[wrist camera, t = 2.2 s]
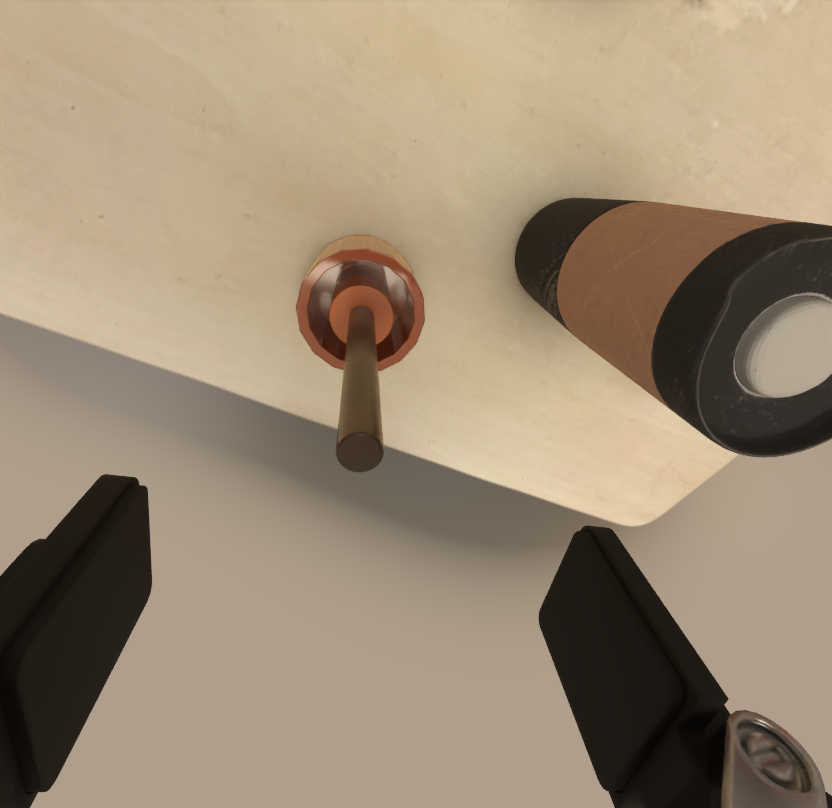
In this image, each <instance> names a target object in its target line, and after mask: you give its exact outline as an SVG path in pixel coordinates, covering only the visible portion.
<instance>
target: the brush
mask: <svg viewBox="0 0 832 808" xmlns="http://www.w3.org/2000/svg"><path fill="white" fill-rule="evenodd" d="M393 320H394V314H393V308H392V303H391V299H390V294H389V289H388V285H387V282H386V280H385V278H384V277H383V276H382V274H381V273H380V272H379V271H377V270H376V269H374V268H372V267H369V266H365V265H357V266H353V267H350V268H348V269H347V270H345V271H344V272H343V273H342V274H341V275H340V276H339V278H338V280H337V282H336V285H335V289H334V294H333V298H332V302H331V306H330V311H329V321H330V325H331V328H332V330H333V332H334V333H335V335H336V336H337V337H338V338H339V339H340V340H341V341H343V342H344V343H346V353H345V363H344V373H343V383H342V394H341V404H340V414H339V424H338V435H337V445H336V456H337V459H338V461H339V462H340V464H341V465H342V466H343V467H345V468H346V469H348V470H350V471H353V472H366V471H369V470H371V469H373V468H375V467H376V466H377V465H378V464H379V463H380V462H381V460H382V458H383V454H384V447H383V433H382V419H381V405H380V391H379V377H378V364H377V350H376V345H377V344H378V343H380V342H381V341H383V340H384V339H385V338H386V337H387V335H388V334H389V332H390V331H391V328H392V325H393Z"/></svg>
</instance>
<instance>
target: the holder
mask: <svg viewBox="0 0 832 808" xmlns="http://www.w3.org/2000/svg"><path fill="white" fill-rule="evenodd" d="M357 265H365V266H369V267H372V268H374V269H376V270H377V271H379V272H380V273H381V274H382V276H383V277H384V278H385V280H386V282H387V285H388V289H389V294H390V299H391V303H392V308H393V314H394V320H393V325H392V328H391V331H390V332H389V334H388V335H387V337H386V338H385V339H384V340H383V341H381V342H380V343H378V344H377V345H376V350H377V364H378V371H381V370H383V369H385V368H387V367H389V366H391V365H394V364H396V363H398V362H400V360H402V359H403V358H404V357H405V356H406V355H407V354H408V353H409V351H410V350H411V349H412V348H413V347H414V346H415V345H416V343H417V341H418V338H419V336H420V333H421V330H422V327H423V325H424V321H425V317H424V298H423V295H422V293H421V291H420V288H419V286H418V284H417V282H416V280H415V278H414V276H413V274H412V271H411V269H410V267H409V265H408V263H407V261H406V259H405V258H404V257H403V256H402V255H401V254H400V252H399V251H398V250H397V249H395V248H394V247H393V246H392V245H390V244H389V243H387V242H385V241H383V240H381V239H379V238H376V237H372V236H366V235H353V236H348V237H344V238H341V239H339V240H337V241H335V242H333V243H331V244H330V245H328V246H327V247H325V248H324V249H323V251H322V252H321V253H320V254H319V255H318V257H317V258H316V260H315V261H314V262H313V264H312V265H311V267H310V269H309V271H308V273H307V274H306V276H305V278H304V280H303V282H302V284H301V288H300V293H299V297H298V301H297V305H296V310H297V316H298V322H299V328H300V331H301V334H302V335H303V337H304V338H305V340H306V342H307V343H308V345H309V346H310V348H311V349H312V351H313V352H314V353H315V354H316V355H317V356H319V357H320V358H321V359H323V360H324V361H326V362H327V363H328V364H330V365H331V366H332V367H335V368H339V369H342V370H344V363H345V353H346V343H344V342H343V341H341V340H340V339H339V338H338V337H337V336H336V335H335V333H334V332H333V330H332V328H331V325H330V321H329V311H330V306H331V302H332V298H333V294H334V289H335V285H336V282H337V280H338V278H339V276H340V275H341V274H342V273H343V272H344V271H345V270H347V269H348V268H350V267H353V266H357Z"/></svg>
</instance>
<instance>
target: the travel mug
mask: <svg viewBox="0 0 832 808" xmlns="http://www.w3.org/2000/svg"><path fill="white" fill-rule="evenodd" d="M515 264H516V271H517V275H518V278H519V280H520V283H521V284H522V286H523V288H524V289H525V290H526V291H527V293H528V294H529V295H530V296H531V297H532V298H533V299H534V300H535V301H536V302H538V303H539V304H540V305H541V306H542V307H543V308H544V309H545V310H546V311H548V312H549V313H550V314H551V315H552V316H553V317H554V318H555V319H556V320H558V321H559V322H560V323H561V324H562V325H563V326H564V327H565V328H566V329H567V330H569V331H570V332H571V333H572V334H573V335H574V336H575V337H577V338H578V339H579V340H580V341H581V342H583V343H584V344H585V345H587V346H588V347H589V348H591V349H592V350H593V351H595V352H596V353H597V354H599V355H600V356H601V357H602V358H604V359H605V360H606V361H608V362H609V363H610V364H612V365H613V366H614V367H616V368H617V369H618V370H620V371H621V372H622V373H623V374H625V375H626V376H627V377H629V378H630V379H631V380H633V381H634V382H635V383H637V384H638V385H639V386H641V387H642V388H643V389H644V390H646V391H647V392H648V393H650V394H651V395H652V396H654V397H655V398H656V399H658V400H659V401H660V402H662V403H663V404H664V405H665V406H667V407H668V408H669V409H671V410H672V411H673V412H675V413H676V414H677V415H679V416H680V417H681V418H682V419H684V420H685V421H686V422H688V423H689V424H690V425H692V426H693V427H694V428H696V429H697V430H698V431H699V432H701V433H702V434H703V435H705V436H706V437H707V438H709V439H710V440H712V441H713V442H715V443H716V444H718V445H720V446H721V447H723V448H725V449H727V450H730V451H732V452H735V453H738V454H742V455H747V456H752V457H777V456H784V455H790V454H794V453H797V452H801V451H804V450H807V449H810V448H813V447H815V446H818V445H820V444H822V443H824V442H826V441H828V440H830V439H832V226H828V225H821V224H813V223H806V222H798V221H791V220H783V219H776V218H768V217H761V216H754V215H746V214H739V213H731V212H724V211H716V210H709V209H701V208H694V207H686V206H679V205H672V204H664V203H657V202H647V201H629V200H609V199H590V198H570V199H563V200H560V201H557V202H554V203H552V204H550V205H548V206H546V207H545V208H543V209H542V210H541V211H539V212H538V213H537V214H536V215H535V216H534V217H533V218H532V219H531V220H530V221H529V222H528V224H527V225H526V227H525V228H524V230H523V232H522V234H521V236H520V239H519V241H518V245H517V249H516V256H515Z"/></svg>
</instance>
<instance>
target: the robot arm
mask: <svg viewBox="0 0 832 808" xmlns="http://www.w3.org/2000/svg"><path fill="white" fill-rule="evenodd" d="M151 573H152V571H151V549H150V528H149V508H148V491H147V487H146V486H141V485H139V481H138V479H137V478H135V477H127V476H117V475H108V474H105V475H102V476H101V477H100V478H99V479H98V480H97V481H96V482H95V483H94V484H93V486H92V487H91V488H90V489H89V490H88V491H87V492H86V493H85V495H84V496H83V497H82V498H81V499H80V500H79V501H78V503H77V504H76V505H75V506H74V507H73V508H72V509H71V511H70V512H69V513H68V514H67V515H66V516H65V517H64V519H63V520H62V521H61V522H60V523H59V524H58V525H57V527H56V528H55V529H54V530H53V531H52V532H51V534H50V535H49V536H48V537H47V538H46V539H38V540H36V541H34V542H32V543H31V544H30V545H29V546H28V547H26V548H25V550H24V551H23V552H22V553H21V554H20V555H19V556H18V557H17V558H16V559H15V561H14V562H13V563H12V564H11V565H10V566H9V567H8V568H7V569H6V570H5V572H4V573H3V574H2V575H1V576H0V808H30V806H31V805H32V803H33V801H34V799H35V797H36V795H37V793H38V792H46V791H48V790H49V789H50V788H51V786H52V785H53V784H54V782H55V781H56V779H57V777H58V775H59V773H60V771H61V769H62V767H63V765H64V763H65V761H66V759H67V757H68V755H69V754H70V752H71V750H72V748H73V746H74V744H75V742H76V740H77V738H78V736H79V734H80V732H81V730H82V728H83V726H84V724H85V722H86V720H87V718H88V716H89V714H90V713H91V711H92V709H93V707H94V704H95V702H96V701H97V699H98V697H99V695H100V693H101V691H102V689H103V687H104V685H105V683H106V681H107V679H108V677H109V675H110V673H111V671H112V669H113V668H114V665H115V664H116V662H117V660H118V658H119V656H120V654H121V652H122V650H123V648H124V646H125V644H126V642H127V640H128V638H129V636H130V634H131V632H132V630H133V628H134V626H135V625H136V622H137V620H138V618H139V617H140V615H141V613H142V611H143V609H144V607H145V605H146V603H147V601H148V598H149V596H150V592H151V586H152V574H151ZM539 624H540V628H541V631H542V633H543V636H544V638H545V641H546V644H547V646H548V649H549V652H550V654H551V656H552V660H553V662H554V665H555V667H556V670H557V673H558V675H559V678H560V680H561V683H562V686H563V689H564V691H565V693H566V696H567V699H568V702H569V704H570V707H571V710H572V712H573V715H574V717H575V720H576V722H577V725H578V728H579V731H580V733H581V736H582V739H583V741H584V744H585V746H586V749H587V752H588V754H589V757H590V760H591V762H592V765H593V767H594V770H595V772H596V775H597V778H598V780H599V782H600V784H601V786H602V787H603V789H605V790H606V791H609V794H610V796H611V799H612V801H613V804H614V807H615V808H832V796H831V795H829V794H828V793H827V792H825V788H824V784H823V780H822V777H821V774H820V772H819V770H818V768H817V767H816V765H815V763H814V762H813V760H812V758H811V757H810V755H809V754H808V753H807V752H806V751H805V749H804V748H803V747H802V746H801V744H800V743H799V742H798V741H797V740H795V739H794V738H793V737H792V736H791V735H790V734H789V733H788V732H787V731H786V730H784V729H783V728H782V727H780V726H779V725H777V724H776V723H775V722H773V721H772V720H770V719H768V718H766V717H764V716H762V715H760V714H758V713H754V712H750V711H746V710H742V711H735V712H734V713H732V714H730V713H729V711H728V710H727V709H726V707H725V706H724V704H725V703H726V702H727V700H728V697H727V696H726V695H725V693H724V692H723V690H722V689H721V687H720V686H719V684H718V683H717V681H716V680H715V678H714V677H713V676H712V674H711V673H710V671H709V670H708V668H707V667H706V665H705V664H704V663H703V661H702V659H701V658H700V657H699V655H698V654H697V652H696V651H695V649H694V648H693V646H692V645H691V643H690V642H689V641H688V639H687V638H686V636H685V635H684V633H683V632H682V630H681V629H680V628H679V626H678V624H677V623H676V622H675V620H674V619H673V617H672V616H671V614H670V613H669V611H668V610H667V608H666V607H665V606H664V604H663V603H662V601H661V600H660V598H659V597H658V595H657V594H656V592H655V591H654V590H653V588H652V587H651V585H650V584H649V582H648V581H647V579H646V578H645V576H644V575H643V573H642V572H641V571H640V569H639V568H638V566H637V565H636V563H635V562H634V561H633V559H632V557H631V556H630V554H629V553H628V552H627V550H626V549H625V547H624V546H623V544H622V543H621V541H620V540H619V539H618V537H617V536H616V534H615V533H614V531H613V530H612V529H610V528H604V527H595V526H584V527H583V528H582V529H581V530H580V531H577V532H576V533H575V534H574V535H573V538H572V540H571V542H570V544H569V547H568V549H567V551H566V553H565V555H564V558H563V560H562V562H561V564H560V566H559V569H558V571H557V573H556V575H555V577H554V580H553V582H552V584H551V586H550V589H549V591H548V593H547V595H546V597H545V600H544V602H543V604H542V606H541V609H540V611H539Z"/></svg>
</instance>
